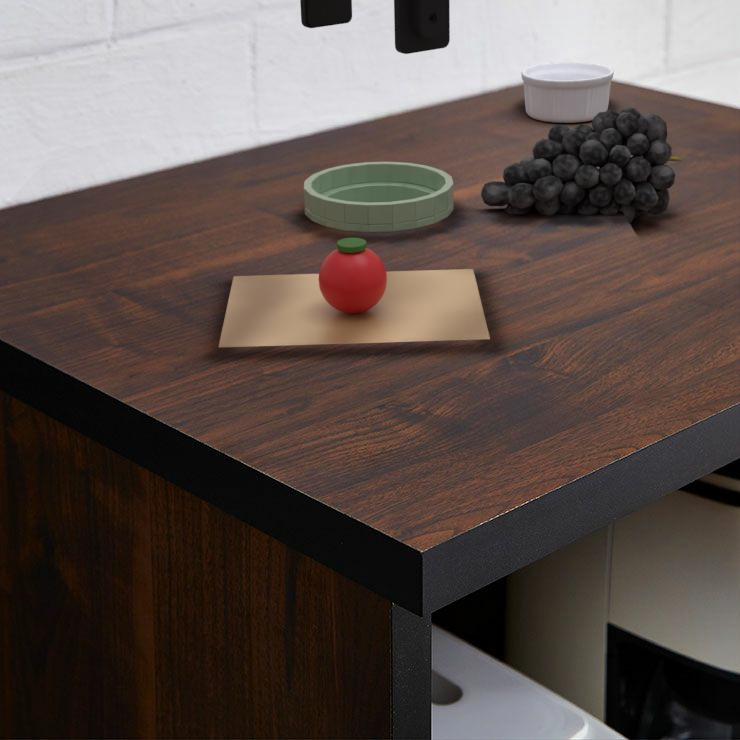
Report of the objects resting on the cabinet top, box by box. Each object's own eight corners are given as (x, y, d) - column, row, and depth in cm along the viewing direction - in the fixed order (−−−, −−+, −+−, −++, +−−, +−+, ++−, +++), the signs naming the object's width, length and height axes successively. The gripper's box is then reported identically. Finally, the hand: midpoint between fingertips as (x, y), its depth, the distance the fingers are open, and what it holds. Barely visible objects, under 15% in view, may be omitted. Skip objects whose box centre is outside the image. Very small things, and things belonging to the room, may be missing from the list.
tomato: (319, 325, 84) (316, 254, 82) (320, 299, 88) (317, 232, 86) (388, 322, 84) (387, 252, 82) (386, 297, 88) (385, 230, 86)
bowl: (303, 253, 100) (301, 206, 99) (307, 206, 111) (305, 163, 109) (458, 248, 100) (458, 202, 99) (447, 202, 111) (447, 159, 109)
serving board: (219, 370, 82) (217, 346, 81) (234, 296, 93) (233, 275, 92) (490, 361, 82) (490, 338, 81) (473, 289, 93) (473, 268, 92)
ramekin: (523, 126, 132) (524, 80, 130) (517, 104, 140) (518, 61, 138) (617, 124, 131) (619, 79, 130) (606, 102, 139) (608, 59, 138)
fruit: (485, 116, 98) (689, 98, 100) (464, 126, 107) (652, 109, 108) (496, 238, 99) (697, 218, 101) (473, 238, 108) (660, 220, 109)
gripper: (220, -294, 76) (240, 24, 83) (397, -309, 62) (404, 71, 69) (336, -296, 79) (347, 9, 86) (527, -310, 66) (521, 51, 73)
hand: (372, 36), depth 78 cm, fingers open, 9 cm apart
